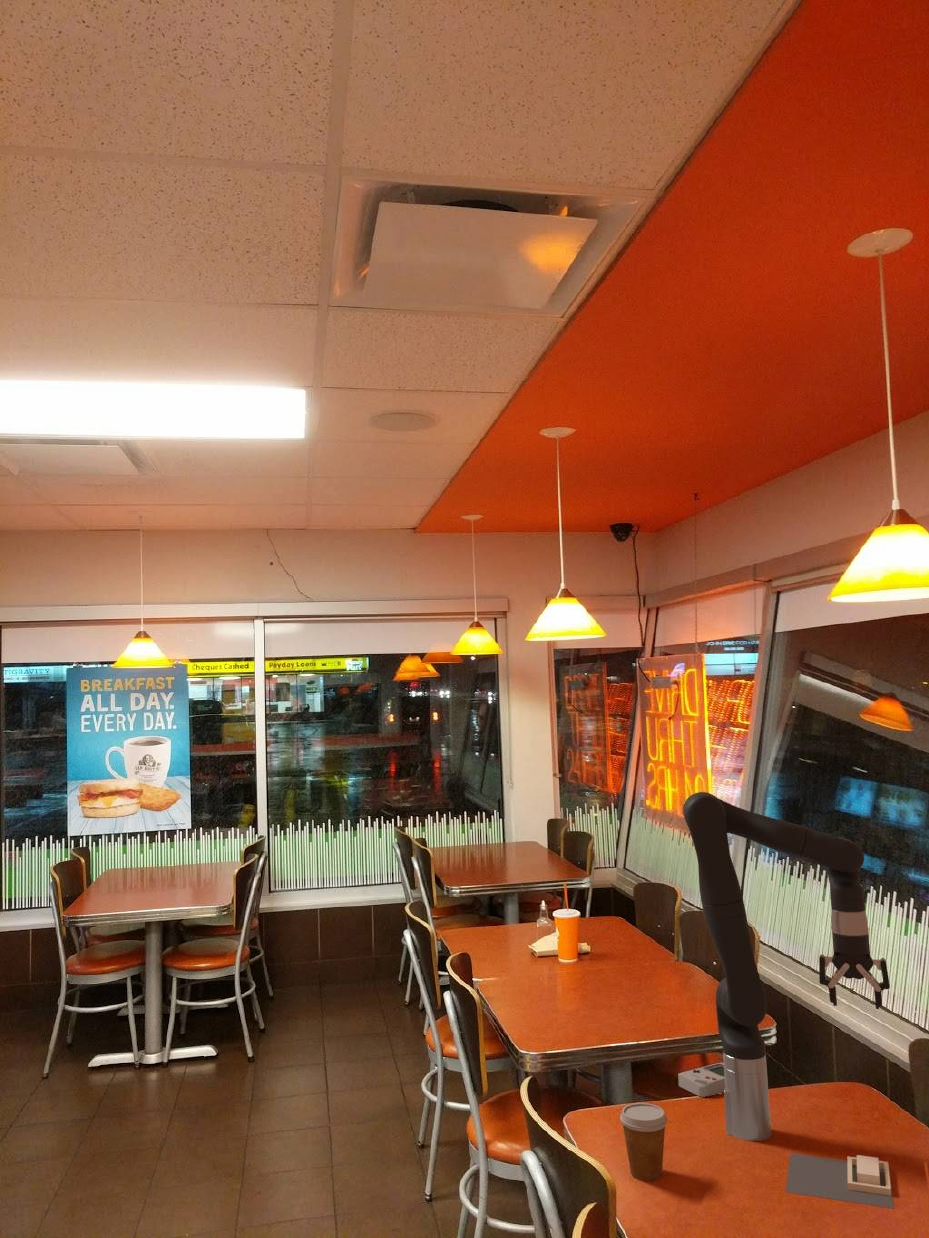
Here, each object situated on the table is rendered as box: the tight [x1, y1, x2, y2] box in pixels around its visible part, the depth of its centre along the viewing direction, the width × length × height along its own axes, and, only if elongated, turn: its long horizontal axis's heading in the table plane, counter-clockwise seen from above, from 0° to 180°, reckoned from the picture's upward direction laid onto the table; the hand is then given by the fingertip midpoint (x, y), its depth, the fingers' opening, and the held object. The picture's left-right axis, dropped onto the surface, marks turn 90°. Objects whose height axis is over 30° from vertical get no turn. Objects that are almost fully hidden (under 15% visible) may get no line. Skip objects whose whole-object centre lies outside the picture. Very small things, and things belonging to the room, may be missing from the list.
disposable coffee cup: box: [619, 1102, 668, 1182], centre depth 186 cm, size 10×10×12 cm
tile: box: [856, 1154, 880, 1186], centre depth 179 cm, size 8×4×2 cm, turn 157°
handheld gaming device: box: [677, 1061, 725, 1098], centre depth 229 cm, size 9×15×4 cm, turn 117°
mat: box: [785, 1152, 895, 1210], centre depth 180 cm, size 19×17×2 cm
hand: (856, 1006), depth 200 cm, fingers open, 8 cm apart
